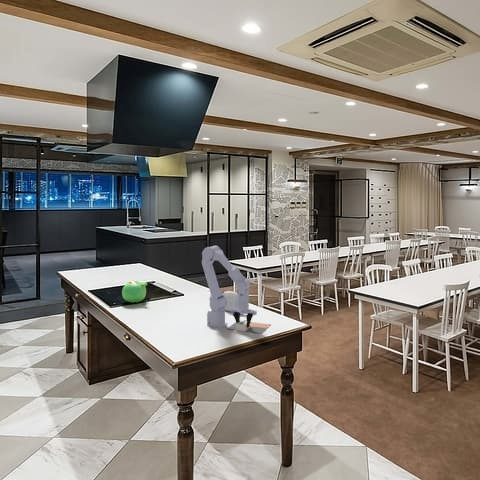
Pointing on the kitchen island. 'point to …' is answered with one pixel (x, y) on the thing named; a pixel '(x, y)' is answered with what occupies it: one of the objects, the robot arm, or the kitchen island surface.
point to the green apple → (134, 291)
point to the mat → (252, 328)
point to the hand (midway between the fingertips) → (243, 326)
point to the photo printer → (231, 300)
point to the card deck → (242, 325)
